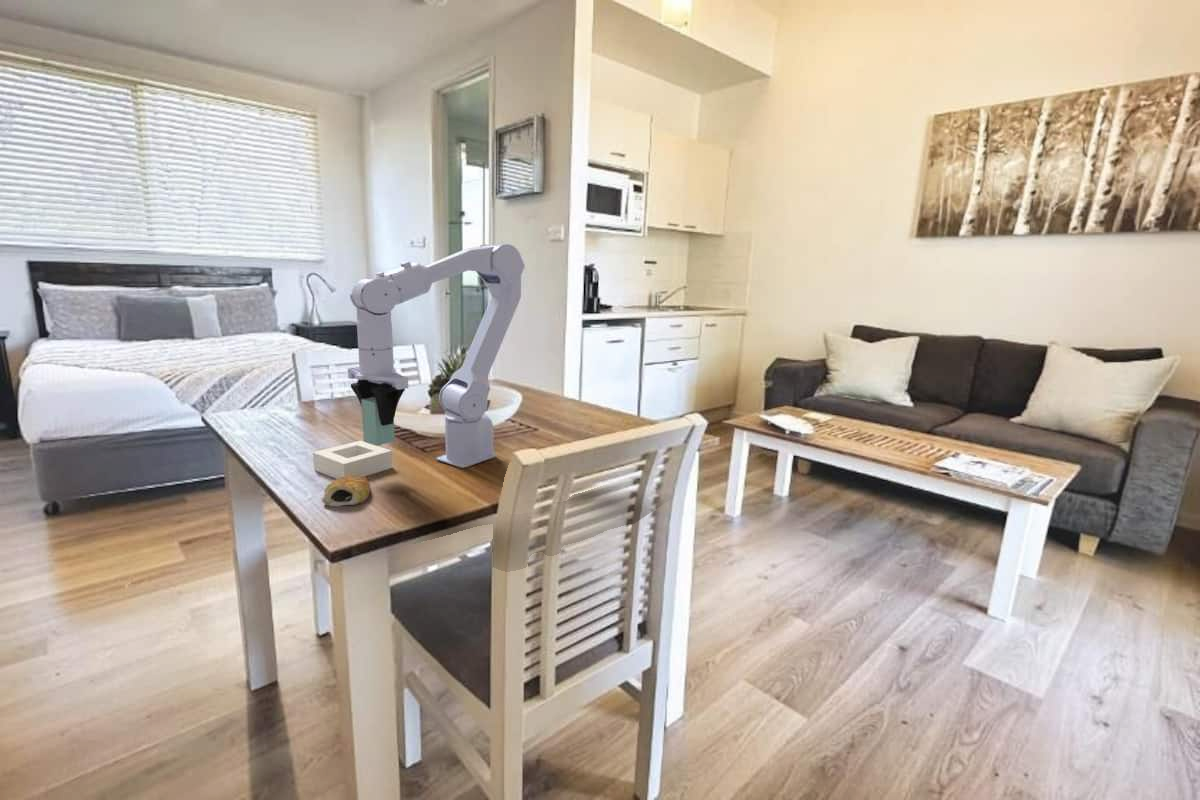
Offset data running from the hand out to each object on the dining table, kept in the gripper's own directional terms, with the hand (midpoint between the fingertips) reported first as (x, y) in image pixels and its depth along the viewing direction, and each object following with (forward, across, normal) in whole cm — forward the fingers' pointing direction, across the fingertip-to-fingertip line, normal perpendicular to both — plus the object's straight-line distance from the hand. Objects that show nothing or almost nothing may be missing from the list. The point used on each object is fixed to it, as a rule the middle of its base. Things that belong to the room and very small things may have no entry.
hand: (379, 422), depth 104 cm
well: (+10, -7, -1) cm, 13 cm away
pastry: (+11, +4, -10) cm, 15 cm away
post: (+4, 0, 0) cm, 4 cm away
